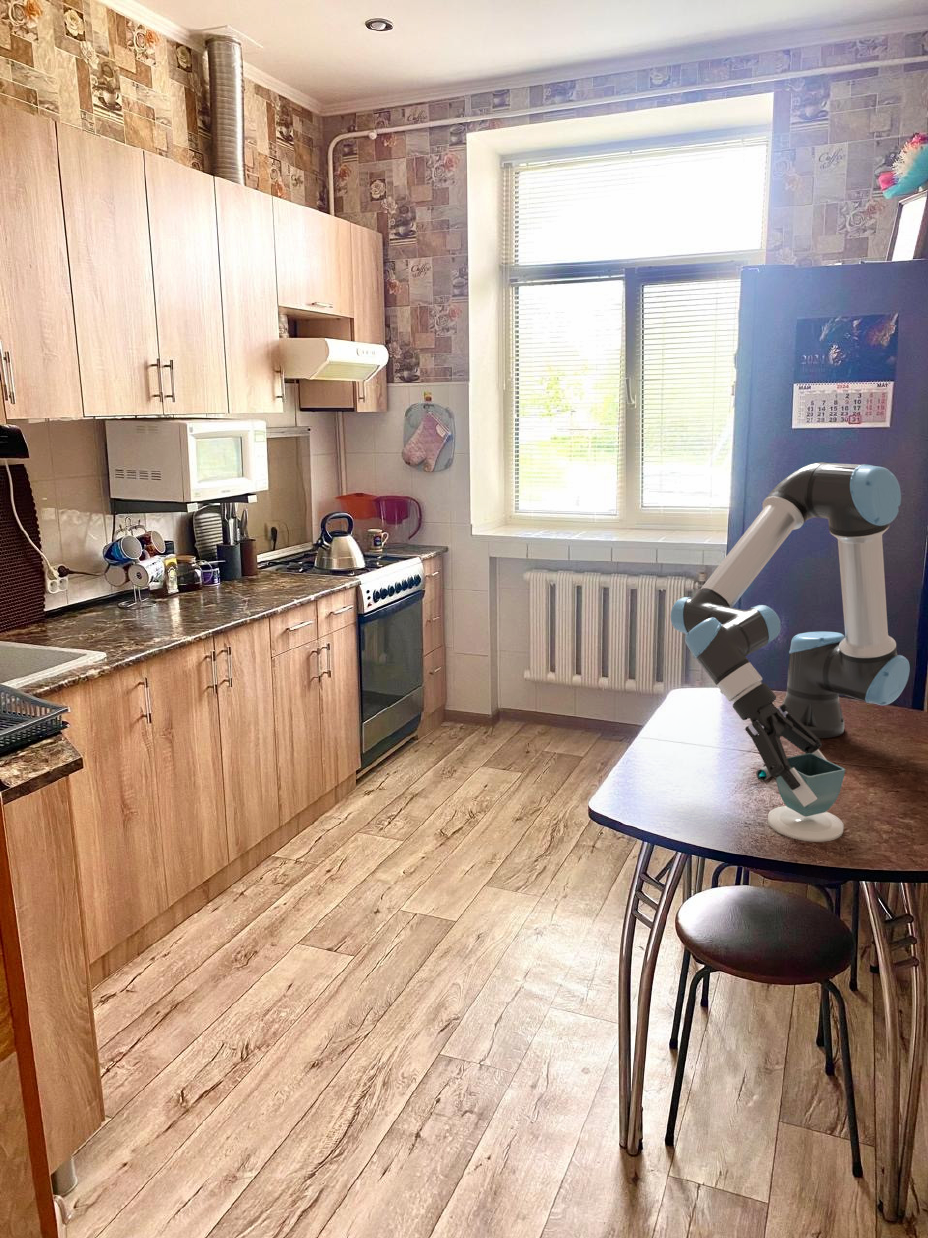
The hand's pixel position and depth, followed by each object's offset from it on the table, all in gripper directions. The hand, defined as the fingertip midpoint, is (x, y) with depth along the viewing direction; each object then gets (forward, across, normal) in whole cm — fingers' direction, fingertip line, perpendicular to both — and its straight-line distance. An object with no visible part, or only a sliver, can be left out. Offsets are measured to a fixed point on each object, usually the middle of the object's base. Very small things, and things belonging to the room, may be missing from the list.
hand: (823, 792), depth 167 cm
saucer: (+3, 0, -7) cm, 8 cm away
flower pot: (+1, 0, -5) cm, 5 cm away
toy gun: (-5, -20, -16) cm, 26 cm away
